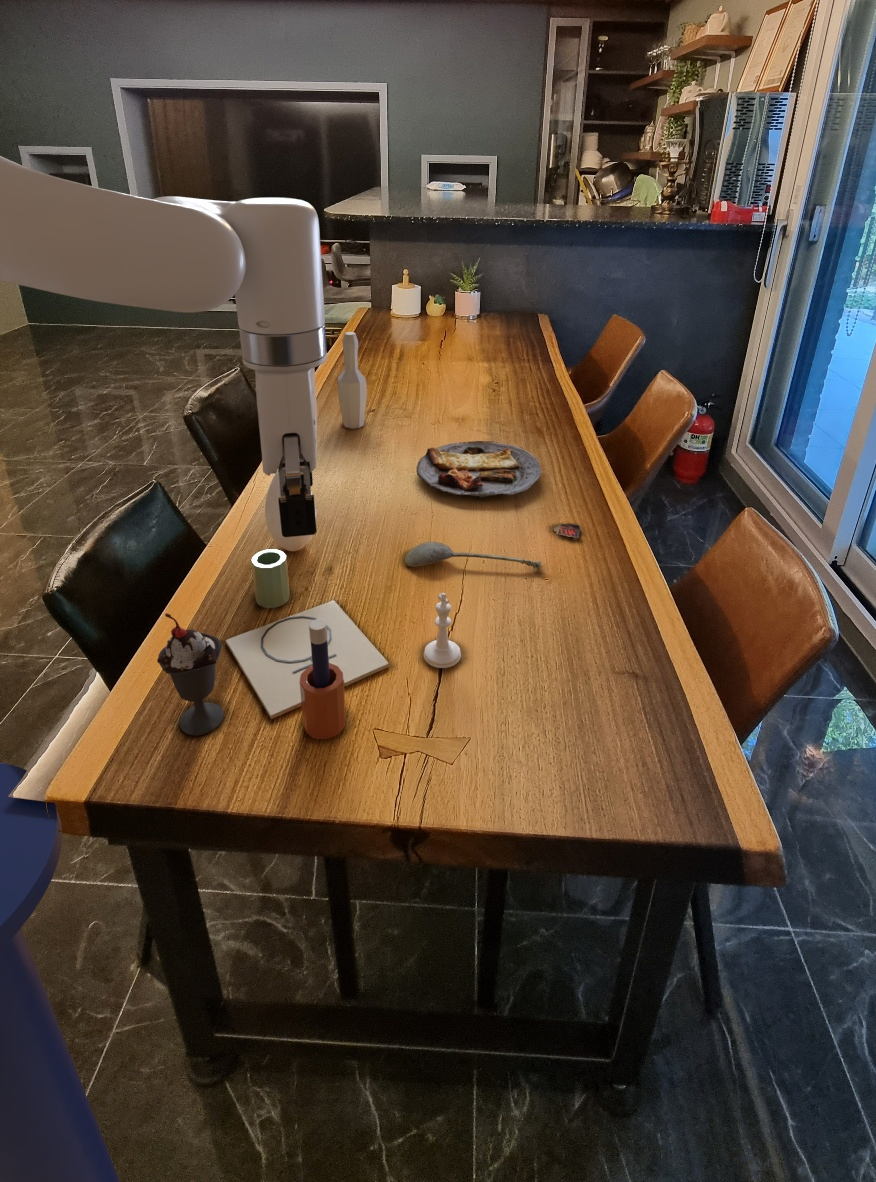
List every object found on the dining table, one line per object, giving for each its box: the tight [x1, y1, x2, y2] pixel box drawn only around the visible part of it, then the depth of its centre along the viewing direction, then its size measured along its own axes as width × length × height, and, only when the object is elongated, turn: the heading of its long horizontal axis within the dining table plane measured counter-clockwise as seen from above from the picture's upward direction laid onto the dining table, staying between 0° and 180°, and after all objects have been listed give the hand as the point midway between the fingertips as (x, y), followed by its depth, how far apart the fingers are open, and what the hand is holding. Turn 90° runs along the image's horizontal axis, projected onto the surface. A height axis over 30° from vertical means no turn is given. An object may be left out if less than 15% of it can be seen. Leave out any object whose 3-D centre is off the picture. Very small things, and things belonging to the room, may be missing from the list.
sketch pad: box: [225, 599, 390, 720], centre depth 91 cm, size 16×16×1 cm
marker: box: [309, 619, 330, 688], centre depth 78 cm, size 2×2×14 cm
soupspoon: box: [404, 541, 542, 572], centre depth 111 cm, size 22×3×7 cm
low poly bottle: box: [336, 331, 368, 430], centre depth 158 cm, size 6×6×22 cm
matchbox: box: [553, 523, 581, 541], centre depth 121 cm, size 5×5×1 cm
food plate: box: [416, 440, 542, 499], centre depth 140 cm, size 25×23×4 cm
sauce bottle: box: [264, 470, 317, 552], centre depth 111 cm, size 8×8×18 cm
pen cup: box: [250, 548, 291, 609], centre depth 101 cm, size 5×5×7 cm
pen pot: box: [300, 663, 347, 740], centre depth 80 cm, size 5×5×7 cm
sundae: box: [156, 612, 225, 736], centre depth 78 cm, size 7×7×15 cm
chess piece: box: [423, 592, 462, 669], centre depth 90 cm, size 5×5×10 cm
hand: (298, 509), depth 70 cm, fingers open, 9 cm apart
